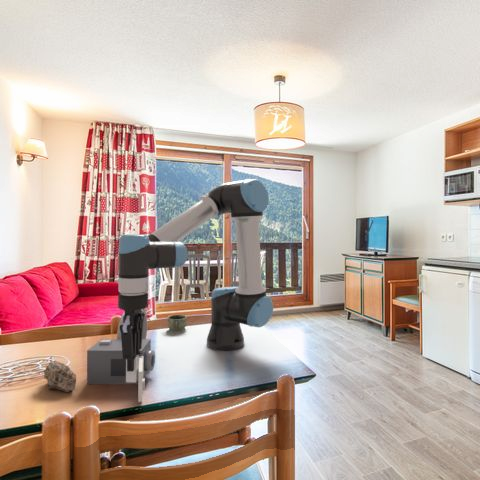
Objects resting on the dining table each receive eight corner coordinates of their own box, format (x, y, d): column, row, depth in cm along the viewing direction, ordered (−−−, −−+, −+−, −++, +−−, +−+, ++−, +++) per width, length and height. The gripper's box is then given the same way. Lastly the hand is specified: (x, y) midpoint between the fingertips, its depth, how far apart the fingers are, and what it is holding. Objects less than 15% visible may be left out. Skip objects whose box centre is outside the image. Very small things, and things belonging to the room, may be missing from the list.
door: (138, 383, 91) (138, 356, 91) (145, 382, 92) (145, 355, 91) (137, 402, 81) (137, 372, 81) (144, 401, 81) (144, 371, 81)
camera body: (157, 369, 102) (157, 336, 101) (148, 384, 92) (148, 348, 91) (101, 369, 101) (101, 336, 101) (86, 384, 91) (86, 348, 91)
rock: (53, 358, 95) (32, 367, 85) (90, 358, 96) (74, 367, 86) (51, 382, 94) (29, 394, 84) (88, 382, 95) (72, 394, 85)
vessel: (168, 326, 149) (168, 313, 149) (186, 326, 150) (187, 313, 150) (166, 334, 137) (166, 320, 137) (186, 333, 138) (186, 319, 138)
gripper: (128, 287, 88) (126, 369, 89) (108, 297, 75) (107, 393, 76) (154, 288, 89) (153, 369, 89) (139, 298, 75) (138, 394, 76)
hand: (132, 380), depth 82 cm, fingers closed
